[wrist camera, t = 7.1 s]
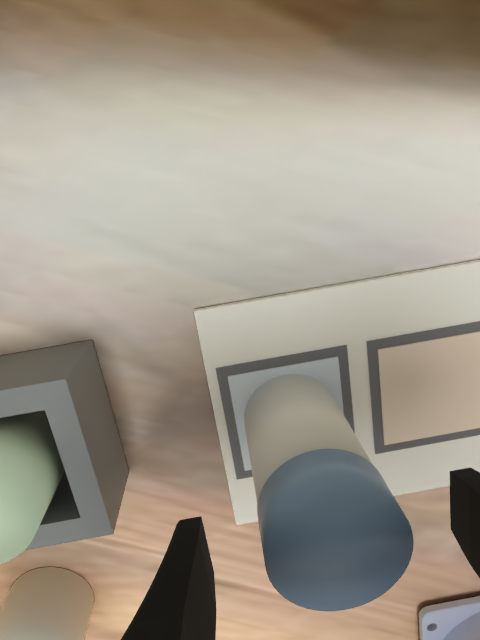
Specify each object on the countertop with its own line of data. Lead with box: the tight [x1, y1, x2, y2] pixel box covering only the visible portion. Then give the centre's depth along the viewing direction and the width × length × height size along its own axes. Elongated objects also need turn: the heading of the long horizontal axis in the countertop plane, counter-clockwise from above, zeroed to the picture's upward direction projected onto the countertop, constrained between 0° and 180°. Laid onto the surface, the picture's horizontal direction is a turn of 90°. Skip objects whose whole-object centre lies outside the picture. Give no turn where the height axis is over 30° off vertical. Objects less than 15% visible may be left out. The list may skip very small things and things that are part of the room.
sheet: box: [194, 260, 480, 525], centre depth 19 cm, size 10×12×1 cm
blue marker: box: [244, 374, 413, 611], centre depth 15 cm, size 4×4×7 cm
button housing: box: [0, 340, 129, 550], centre depth 16 cm, size 6×6×4 cm
